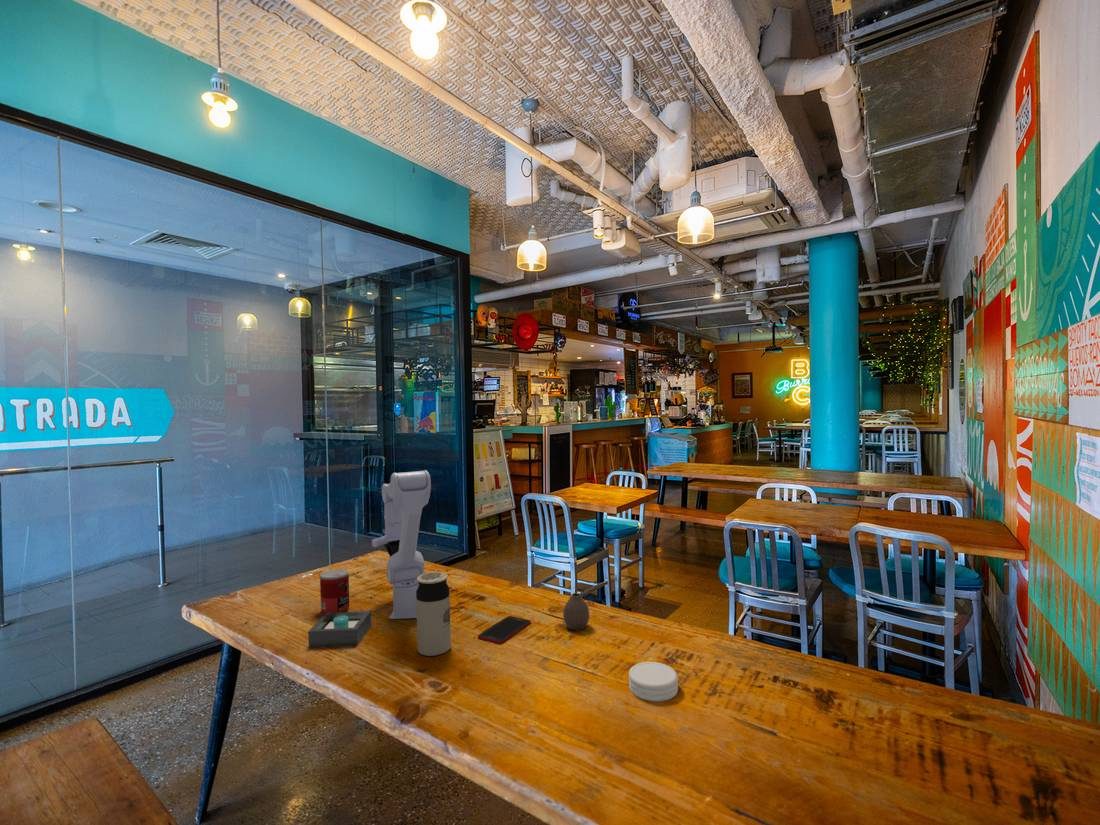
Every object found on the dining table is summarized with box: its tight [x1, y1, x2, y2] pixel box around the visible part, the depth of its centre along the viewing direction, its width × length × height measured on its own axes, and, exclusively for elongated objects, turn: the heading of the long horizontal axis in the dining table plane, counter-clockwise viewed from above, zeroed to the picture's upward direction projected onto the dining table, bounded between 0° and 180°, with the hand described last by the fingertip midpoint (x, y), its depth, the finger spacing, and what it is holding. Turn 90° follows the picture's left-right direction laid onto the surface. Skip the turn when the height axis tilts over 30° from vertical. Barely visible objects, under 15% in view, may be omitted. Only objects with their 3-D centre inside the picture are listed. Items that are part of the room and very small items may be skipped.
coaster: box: [628, 661, 679, 702], centre depth 108 cm, size 10×10×4 cm
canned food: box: [319, 568, 350, 615], centre depth 154 cm, size 8×8×11 cm
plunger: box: [324, 616, 359, 629], centre depth 137 cm, size 9×9×4 cm
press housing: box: [307, 610, 372, 648], centre depth 137 cm, size 12×12×4 cm
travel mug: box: [416, 571, 452, 657], centre depth 128 cm, size 8×8×18 cm
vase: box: [562, 592, 590, 631], centre depth 139 cm, size 7×7×9 cm
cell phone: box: [477, 615, 532, 645], centre depth 138 cm, size 8×15×1 cm, turn 150°
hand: (395, 564), depth 163 cm, fingers closed
